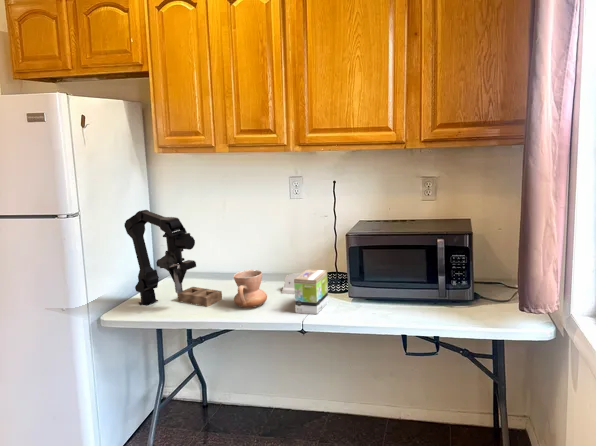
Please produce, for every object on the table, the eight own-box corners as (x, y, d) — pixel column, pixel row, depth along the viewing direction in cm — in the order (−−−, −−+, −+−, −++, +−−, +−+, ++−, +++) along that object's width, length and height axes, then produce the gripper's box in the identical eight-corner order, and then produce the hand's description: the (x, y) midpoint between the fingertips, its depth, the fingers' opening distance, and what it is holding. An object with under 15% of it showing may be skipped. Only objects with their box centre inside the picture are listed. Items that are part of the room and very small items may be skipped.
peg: (174, 292, 235) (171, 270, 233) (179, 290, 237) (176, 268, 235) (179, 293, 233) (176, 270, 231) (184, 291, 235) (181, 268, 234)
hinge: (281, 293, 250) (283, 271, 251) (285, 293, 254) (287, 272, 256) (315, 295, 243) (316, 273, 245) (319, 296, 248) (320, 274, 249)
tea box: (318, 314, 219) (316, 279, 217) (295, 313, 223) (292, 278, 220) (329, 302, 233) (327, 269, 230) (307, 301, 237) (304, 268, 234)
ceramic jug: (245, 297, 248) (242, 267, 245) (274, 299, 242) (271, 268, 239) (225, 311, 231) (221, 279, 229) (255, 313, 226) (252, 281, 223)
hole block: (178, 301, 249) (177, 292, 248) (193, 294, 257) (192, 286, 256) (207, 306, 239) (206, 297, 238) (222, 299, 247) (221, 291, 246)
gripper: (144, 250, 230) (148, 285, 233) (175, 253, 220) (179, 290, 223) (164, 244, 239) (168, 278, 242) (195, 247, 229) (198, 283, 232)
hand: (178, 282), depth 234 cm, fingers closed on peg, 3 cm apart
